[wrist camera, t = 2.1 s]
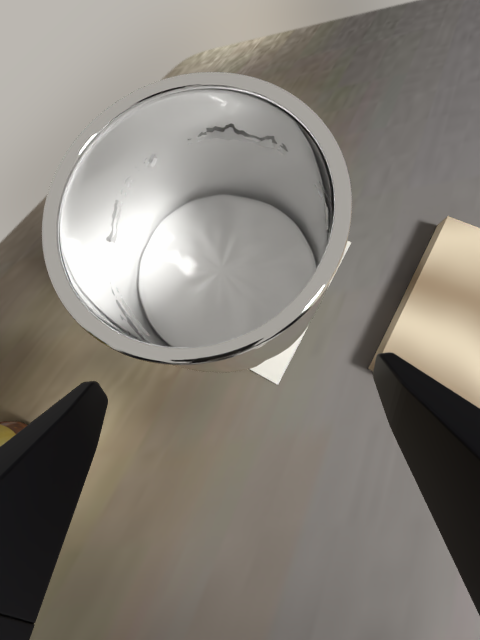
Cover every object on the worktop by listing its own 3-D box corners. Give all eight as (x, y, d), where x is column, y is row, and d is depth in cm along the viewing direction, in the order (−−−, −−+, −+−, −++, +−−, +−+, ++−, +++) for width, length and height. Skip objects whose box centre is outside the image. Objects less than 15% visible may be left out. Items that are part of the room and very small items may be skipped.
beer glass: (262, 388, 19) (232, 459, 5) (185, 336, 21) (-30, 258, 6) (313, 308, 20) (435, 138, 5) (235, 262, 21) (153, 21, 6)
